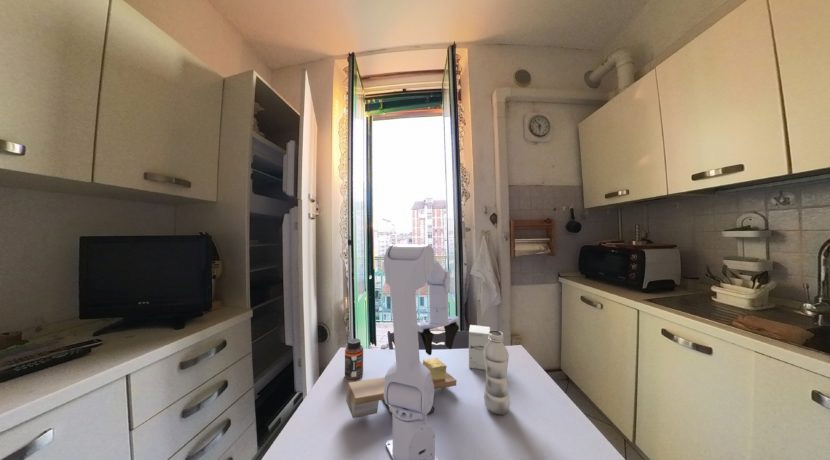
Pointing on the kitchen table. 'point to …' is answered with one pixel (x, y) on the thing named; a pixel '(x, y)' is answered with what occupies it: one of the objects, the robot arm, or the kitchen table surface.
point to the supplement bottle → (354, 359)
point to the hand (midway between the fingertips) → (438, 350)
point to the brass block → (436, 369)
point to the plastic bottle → (496, 374)
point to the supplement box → (477, 346)
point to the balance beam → (376, 394)
